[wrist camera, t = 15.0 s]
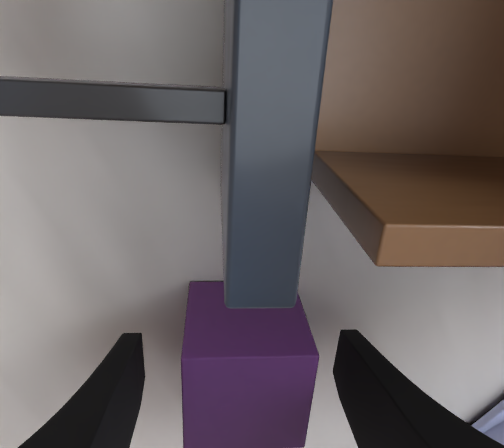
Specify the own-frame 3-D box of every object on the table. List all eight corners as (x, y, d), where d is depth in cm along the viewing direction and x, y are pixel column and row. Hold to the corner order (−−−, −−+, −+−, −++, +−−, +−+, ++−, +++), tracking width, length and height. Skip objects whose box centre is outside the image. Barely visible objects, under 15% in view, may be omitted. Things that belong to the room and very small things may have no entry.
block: (190, 362, 16) (183, 453, 12) (189, 280, 14) (180, 358, 11) (285, 360, 16) (304, 448, 13) (294, 280, 15) (320, 356, 11)
